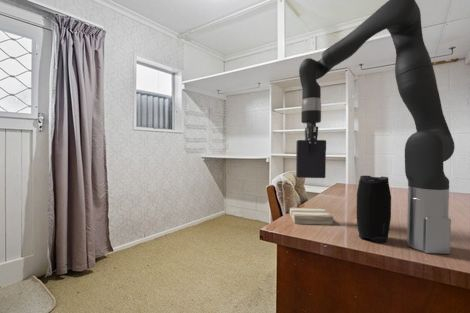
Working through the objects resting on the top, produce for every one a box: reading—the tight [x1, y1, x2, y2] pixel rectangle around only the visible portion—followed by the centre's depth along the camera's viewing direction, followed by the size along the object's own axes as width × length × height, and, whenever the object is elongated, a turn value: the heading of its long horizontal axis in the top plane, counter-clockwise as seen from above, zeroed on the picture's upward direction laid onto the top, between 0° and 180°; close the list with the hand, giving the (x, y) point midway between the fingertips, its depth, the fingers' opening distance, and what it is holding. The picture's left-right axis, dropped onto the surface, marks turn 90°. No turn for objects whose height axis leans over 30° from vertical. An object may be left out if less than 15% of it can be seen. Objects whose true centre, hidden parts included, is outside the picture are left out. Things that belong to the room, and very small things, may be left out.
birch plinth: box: [289, 206, 334, 226], centre depth 100 cm, size 14×14×3 cm
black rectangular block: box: [295, 139, 327, 179], centre depth 99 cm, size 11×4×15 cm, turn 84°
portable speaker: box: [356, 175, 392, 244], centre depth 77 cm, size 9×9×20 cm
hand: (310, 153), depth 99 cm, fingers closed on black rectangular block, 4 cm apart
